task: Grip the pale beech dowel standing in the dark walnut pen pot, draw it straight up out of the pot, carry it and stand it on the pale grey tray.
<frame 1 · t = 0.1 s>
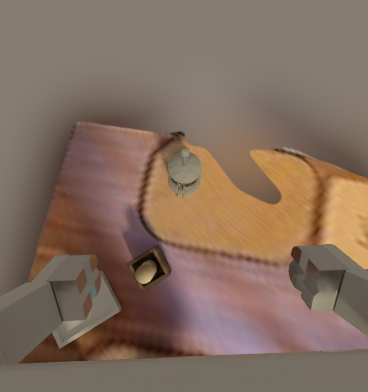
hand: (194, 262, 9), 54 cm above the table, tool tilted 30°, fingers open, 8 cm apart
french press: (183, 182, 65), on the table
tray: (83, 306, 60), on the table
dowel: (151, 265, 61), point 1 cm above the table, touching pen pot
pen pot: (152, 264, 61), on the table
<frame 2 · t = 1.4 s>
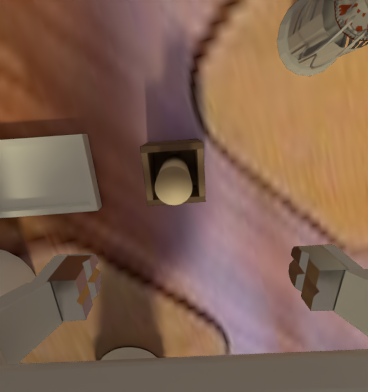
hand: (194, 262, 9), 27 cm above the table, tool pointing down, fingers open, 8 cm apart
french press: (306, 43, 30), on the table
tray: (39, 176, 35), on the table
dowel: (174, 166, 34), point 1 cm above the table, touching pen pot
pen pot: (174, 165, 35), on the table
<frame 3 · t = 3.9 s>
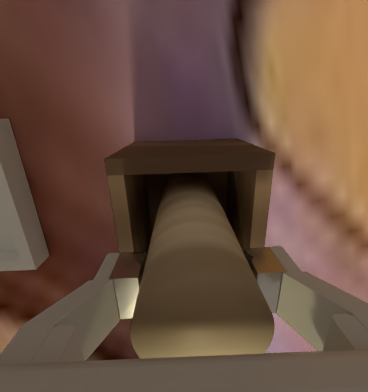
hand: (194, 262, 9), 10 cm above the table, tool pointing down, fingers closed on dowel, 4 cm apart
dowel: (187, 192, 17), point 1 cm above the table, touching gripper, pen pot
pen pot: (187, 189, 18), on the table
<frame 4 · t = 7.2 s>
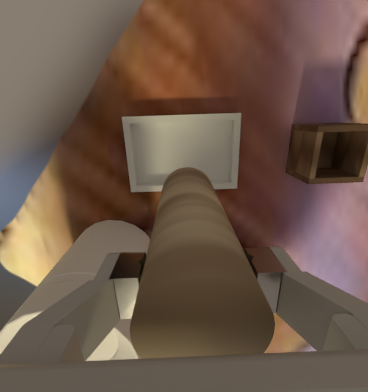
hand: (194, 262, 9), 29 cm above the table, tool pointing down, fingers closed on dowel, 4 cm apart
tray: (182, 152, 36), on the table
dowel: (187, 191, 17), point 20 cm above the table, touching gripper
pen pot: (312, 148, 36), on the table
canister: (116, 254, 43), on the table
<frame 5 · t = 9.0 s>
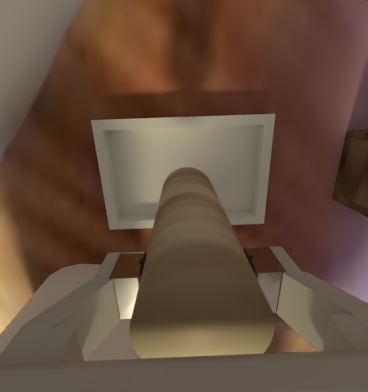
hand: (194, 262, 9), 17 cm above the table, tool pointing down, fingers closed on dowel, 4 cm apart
tray: (184, 172, 25), on the table
dowel: (187, 191, 17), point 8 cm above the table, touching gripper
canister: (94, 307, 32), on the table
when the fingers open (10 cm above the table, at t = 10.4 s): dowel stays where it is, resting on tray.
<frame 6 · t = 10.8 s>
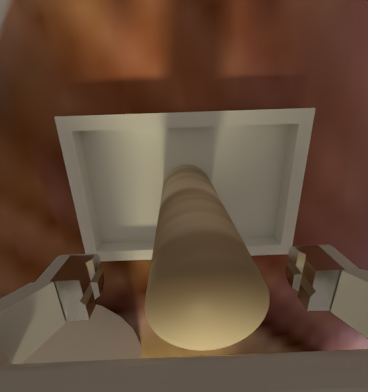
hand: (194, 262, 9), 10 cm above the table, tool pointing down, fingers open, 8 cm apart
tray: (186, 186, 19), on the table
dowel: (186, 188, 18), point 1 cm above the table, touching tray
canister: (75, 348, 26), on the table
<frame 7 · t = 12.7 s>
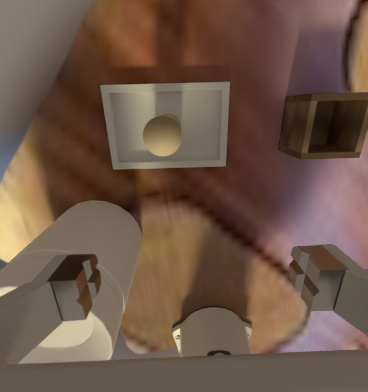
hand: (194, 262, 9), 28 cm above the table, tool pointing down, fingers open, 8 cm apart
tray: (168, 127, 34), on the table
dowel: (167, 127, 33), point 1 cm above the table, touching tray
pen pot: (307, 123, 34), on the table
canister: (101, 237, 41), on the table
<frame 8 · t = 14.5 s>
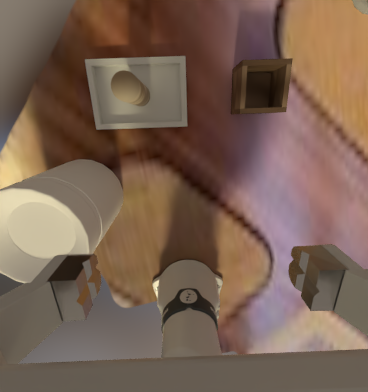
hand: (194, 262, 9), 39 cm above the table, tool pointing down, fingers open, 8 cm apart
tray: (140, 95, 42), on the table
dowel: (139, 95, 42), point 1 cm above the table, touching tray
pen pot: (251, 91, 42), on the table
canister: (88, 193, 49), on the table
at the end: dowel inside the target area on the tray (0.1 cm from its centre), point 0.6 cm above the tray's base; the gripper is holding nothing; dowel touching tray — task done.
